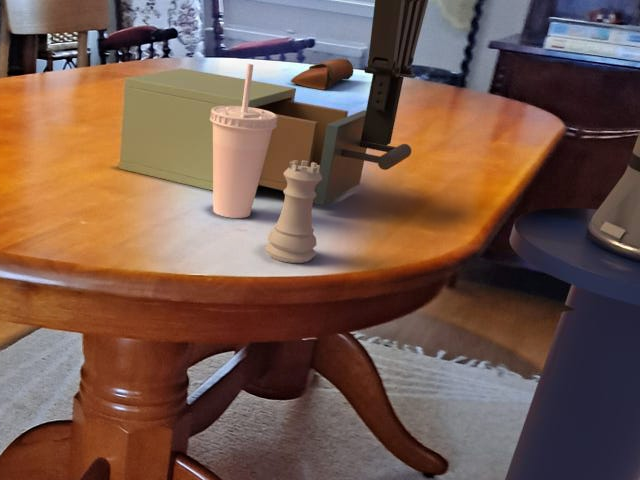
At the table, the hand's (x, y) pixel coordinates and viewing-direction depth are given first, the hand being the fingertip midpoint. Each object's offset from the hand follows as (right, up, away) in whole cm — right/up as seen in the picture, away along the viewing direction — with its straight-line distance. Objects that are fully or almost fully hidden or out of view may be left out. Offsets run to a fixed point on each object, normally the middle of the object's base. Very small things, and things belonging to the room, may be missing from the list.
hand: (375, 141), depth 86 cm
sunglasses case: (+10, +35, +82) cm, 90 cm away
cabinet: (-17, 0, +11) cm, 20 cm away
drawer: (-6, -3, +5) cm, 9 cm away
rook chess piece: (-11, -14, -12) cm, 21 cm away
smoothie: (-15, -8, -2) cm, 17 cm away
